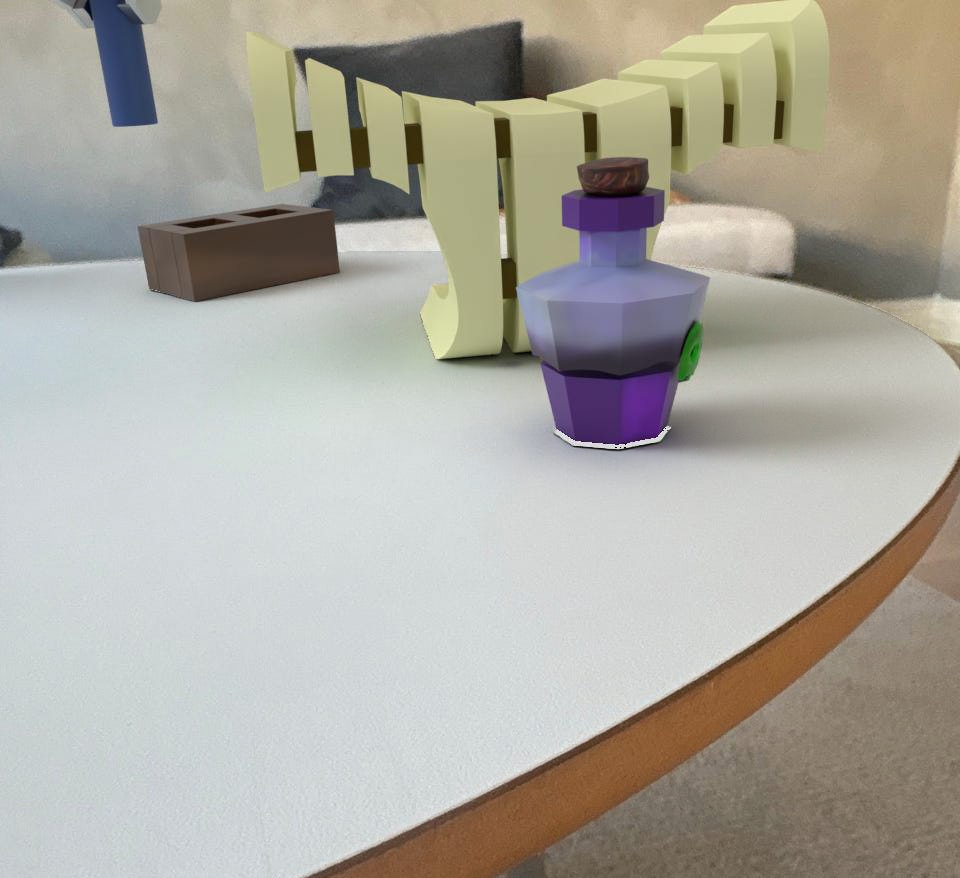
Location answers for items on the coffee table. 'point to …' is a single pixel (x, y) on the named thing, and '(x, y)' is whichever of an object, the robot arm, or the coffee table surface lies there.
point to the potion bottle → (614, 312)
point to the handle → (123, 66)
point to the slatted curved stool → (545, 148)
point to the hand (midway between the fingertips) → (123, 18)
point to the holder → (239, 250)
